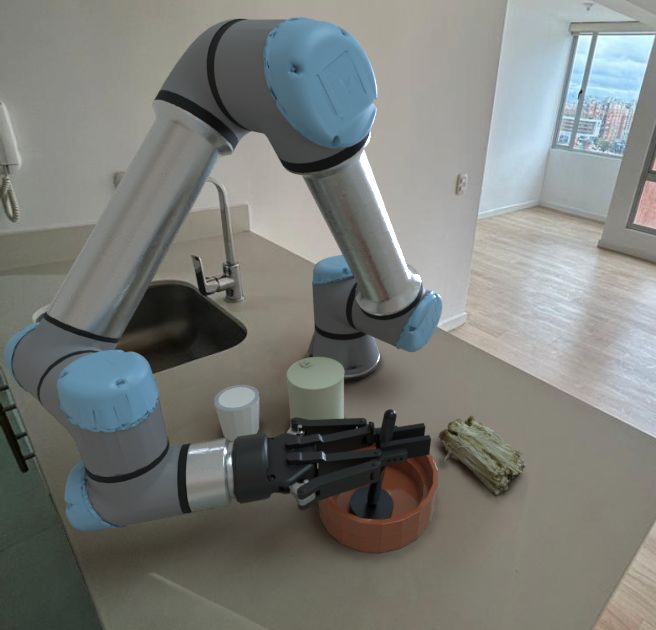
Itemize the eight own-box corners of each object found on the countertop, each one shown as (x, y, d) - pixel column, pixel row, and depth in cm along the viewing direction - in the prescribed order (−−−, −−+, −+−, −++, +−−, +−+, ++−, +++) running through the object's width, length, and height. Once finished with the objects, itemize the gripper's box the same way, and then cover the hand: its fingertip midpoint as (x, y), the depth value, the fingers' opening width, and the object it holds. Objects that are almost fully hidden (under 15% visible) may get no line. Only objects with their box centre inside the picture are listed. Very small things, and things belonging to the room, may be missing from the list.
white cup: (271, 428, 76) (268, 395, 73) (236, 451, 71) (231, 416, 68) (245, 411, 79) (241, 378, 76) (210, 432, 74) (204, 398, 71)
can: (321, 403, 83) (319, 347, 77) (355, 426, 78) (356, 369, 72) (278, 427, 76) (273, 368, 71) (313, 454, 71) (310, 394, 66)
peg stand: (360, 487, 65) (379, 390, 58) (398, 504, 64) (421, 406, 57) (340, 517, 60) (358, 414, 53) (380, 536, 58) (404, 433, 51)
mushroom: (429, 452, 74) (432, 426, 72) (468, 428, 80) (472, 404, 77) (496, 509, 65) (502, 483, 62) (535, 478, 71) (542, 452, 68)
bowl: (353, 447, 74) (353, 419, 71) (448, 479, 69) (452, 450, 66) (295, 528, 60) (293, 496, 57) (409, 575, 55) (412, 543, 52)
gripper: (239, 449, 60) (409, 423, 67) (234, 548, 47) (442, 503, 54) (233, 404, 56) (412, 382, 63) (226, 498, 44) (449, 457, 51)
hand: (426, 438), depth 59 cm, fingers closed on peg stand, 2 cm apart
